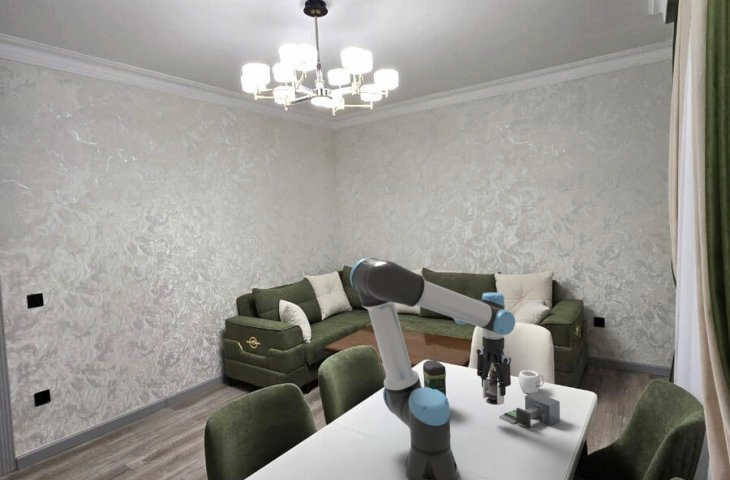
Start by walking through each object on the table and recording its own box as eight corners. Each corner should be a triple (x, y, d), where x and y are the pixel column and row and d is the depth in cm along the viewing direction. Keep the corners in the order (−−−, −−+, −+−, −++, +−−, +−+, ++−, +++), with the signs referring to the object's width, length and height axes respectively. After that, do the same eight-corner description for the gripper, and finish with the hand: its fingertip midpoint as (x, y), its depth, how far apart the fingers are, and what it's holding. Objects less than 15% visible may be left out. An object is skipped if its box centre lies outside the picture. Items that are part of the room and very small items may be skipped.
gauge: (533, 434, 138) (533, 413, 138) (499, 417, 151) (498, 398, 150) (559, 421, 146) (559, 401, 146) (525, 406, 158) (524, 387, 158)
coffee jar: (450, 412, 156) (448, 365, 155) (431, 415, 154) (429, 367, 153) (439, 401, 166) (438, 357, 165) (421, 404, 164) (420, 359, 163)
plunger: (528, 427, 141) (528, 413, 140) (504, 416, 150) (503, 402, 149) (545, 420, 145) (544, 406, 145) (520, 409, 154) (519, 396, 154)
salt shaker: (483, 403, 144) (483, 369, 143) (486, 396, 149) (486, 364, 149) (500, 406, 141) (500, 372, 141) (503, 399, 146) (503, 367, 146)
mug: (529, 397, 166) (528, 378, 166) (514, 389, 174) (514, 371, 174) (551, 391, 171) (551, 373, 170) (536, 384, 179) (536, 366, 178)
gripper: (522, 341, 138) (522, 407, 139) (480, 329, 154) (480, 389, 155) (508, 344, 134) (508, 413, 135) (466, 332, 150) (466, 393, 151)
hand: (493, 400), depth 145 cm, fingers closed on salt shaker, 6 cm apart
